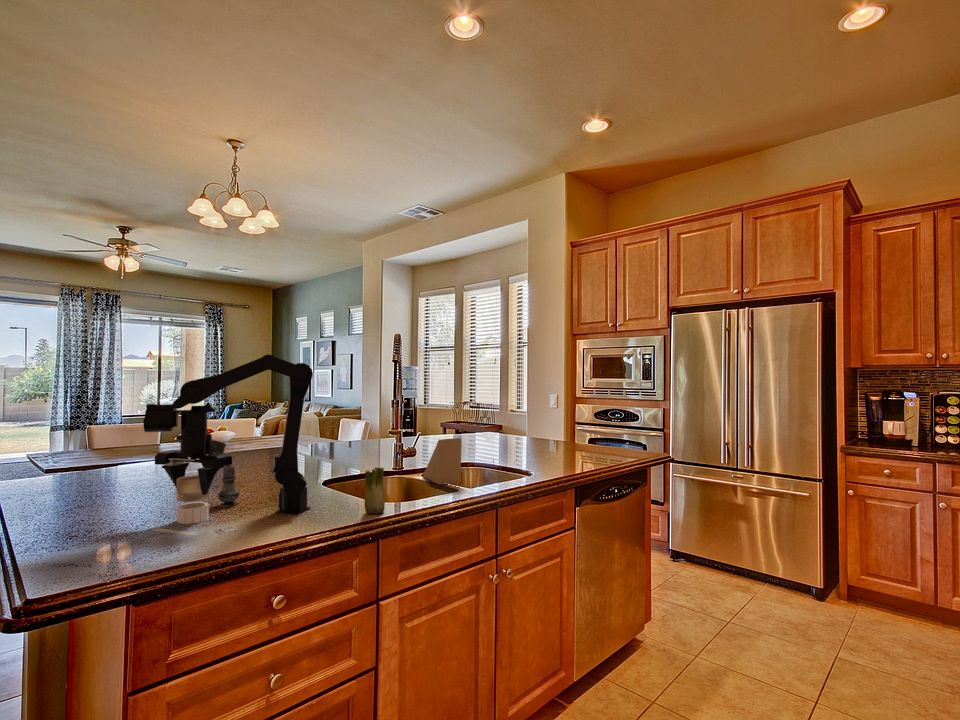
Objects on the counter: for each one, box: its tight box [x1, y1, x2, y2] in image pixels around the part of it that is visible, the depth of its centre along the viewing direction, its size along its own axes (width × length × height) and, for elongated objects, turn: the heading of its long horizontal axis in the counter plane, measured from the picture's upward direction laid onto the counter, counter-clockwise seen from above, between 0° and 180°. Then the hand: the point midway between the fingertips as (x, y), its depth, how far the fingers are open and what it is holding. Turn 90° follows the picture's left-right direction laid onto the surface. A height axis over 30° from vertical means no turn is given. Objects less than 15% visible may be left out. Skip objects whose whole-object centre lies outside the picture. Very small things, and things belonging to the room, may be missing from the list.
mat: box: [151, 528, 200, 536], centre depth 110 cm, size 12×12×1 cm
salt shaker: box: [216, 464, 241, 508], centre depth 140 cm, size 6×6×12 cm
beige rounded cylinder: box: [175, 474, 210, 503], centre depth 125 cm, size 7×7×5 cm
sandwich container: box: [422, 437, 462, 485], centre depth 176 cm, size 9×15×15 cm, turn 27°
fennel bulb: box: [364, 466, 386, 515], centre depth 133 cm, size 6×5×12 cm
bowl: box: [176, 501, 210, 525], centre depth 125 cm, size 7×7×4 cm
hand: (192, 493), depth 125 cm, fingers closed on beige rounded cylinder, 7 cm apart
